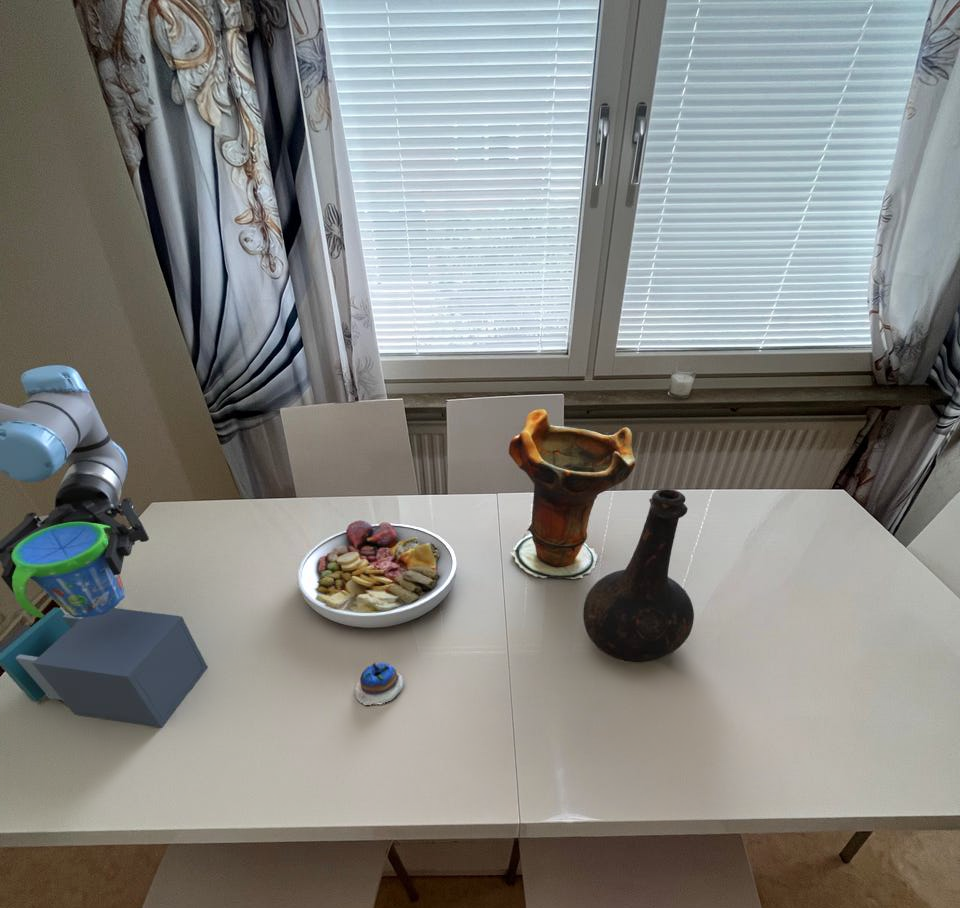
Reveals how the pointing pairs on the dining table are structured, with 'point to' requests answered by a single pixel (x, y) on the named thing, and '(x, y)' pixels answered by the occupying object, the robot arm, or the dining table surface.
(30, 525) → the robot arm
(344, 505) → the dining table surface
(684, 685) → the dining table surface
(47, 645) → the drawer
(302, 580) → the bowl
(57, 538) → the snack cup
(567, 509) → the decorative vase
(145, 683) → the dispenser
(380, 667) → the dessert
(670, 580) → the glass bottle
